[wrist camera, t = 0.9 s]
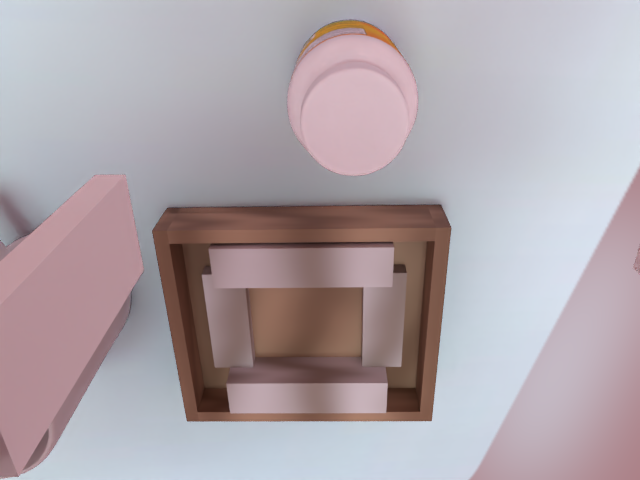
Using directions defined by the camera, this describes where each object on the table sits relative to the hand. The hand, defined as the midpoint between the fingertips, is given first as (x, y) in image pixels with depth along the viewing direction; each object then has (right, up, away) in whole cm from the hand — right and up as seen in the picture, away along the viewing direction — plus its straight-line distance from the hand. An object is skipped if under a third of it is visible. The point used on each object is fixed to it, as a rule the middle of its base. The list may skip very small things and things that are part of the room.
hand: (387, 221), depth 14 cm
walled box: (-3, -5, +21) cm, 22 cm away
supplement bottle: (0, +8, +15) cm, 17 cm away
